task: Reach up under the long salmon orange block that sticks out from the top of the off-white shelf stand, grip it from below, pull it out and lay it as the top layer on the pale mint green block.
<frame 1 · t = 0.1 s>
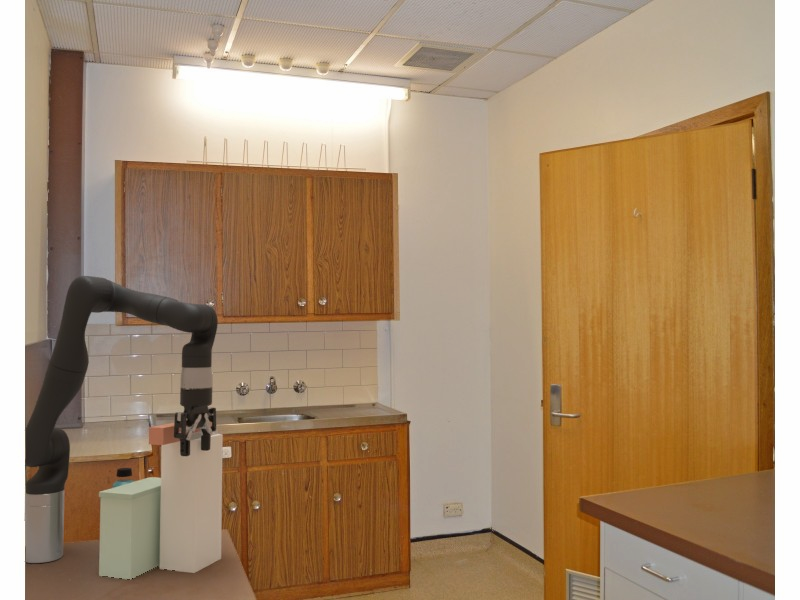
hand: (195, 453, 176), 29 cm above the countertop, tool pointing down, fingers open, 8 cm apart
long salmon orange block: (182, 438, 181), point 32 cm above the countertop, touching stand
beverage bottle: (123, 540, 206), on the countertop
stand: (190, 563, 184), on the countertop
pale mint green block: (140, 566, 182), on the countertop
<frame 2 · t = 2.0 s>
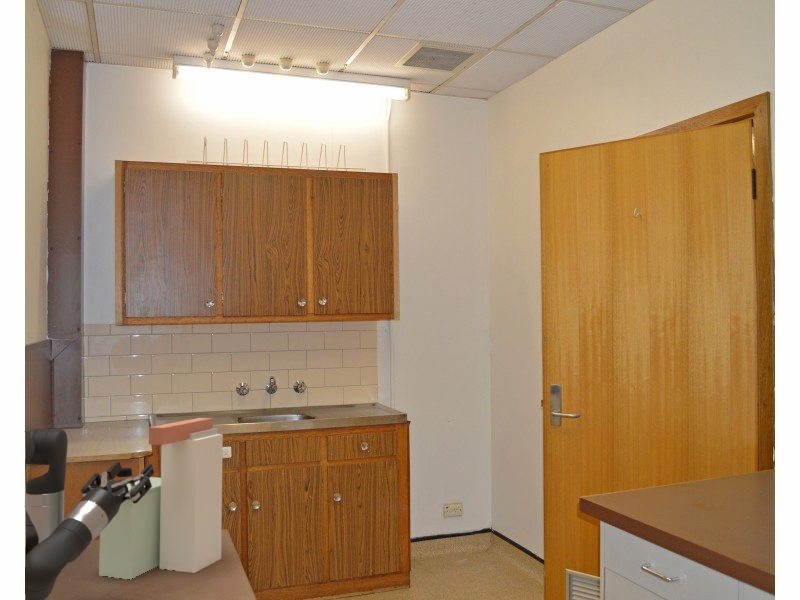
hand: (135, 466, 164), 28 cm above the countertop, tool pointing upward, fingers open, 8 cm apart
nothing on the countertop moved.
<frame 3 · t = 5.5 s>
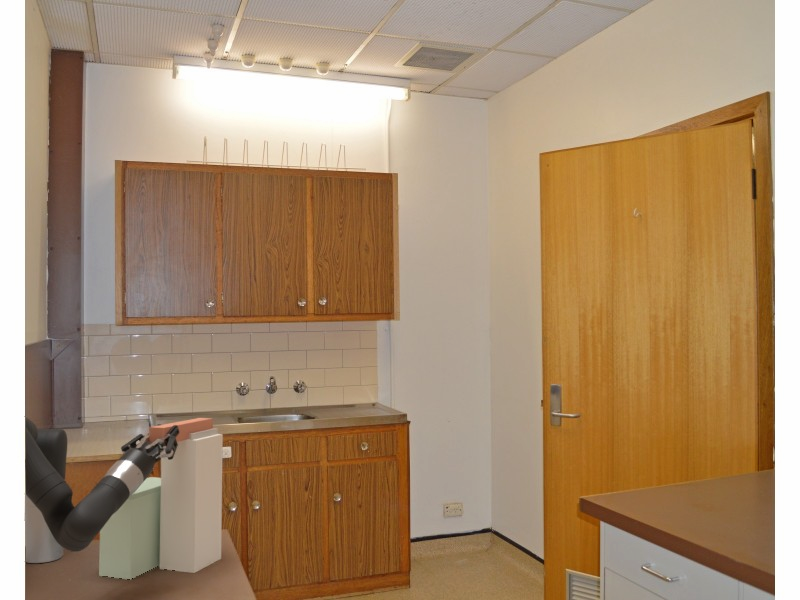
hand: (168, 427, 176), 35 cm above the countertop, tool pointing upward, fingers closed on long salmon orange block, 4 cm apart
long salmon orange block: (182, 438, 181), point 32 cm above the countertop, touching gripper, stand
everything else where it was.
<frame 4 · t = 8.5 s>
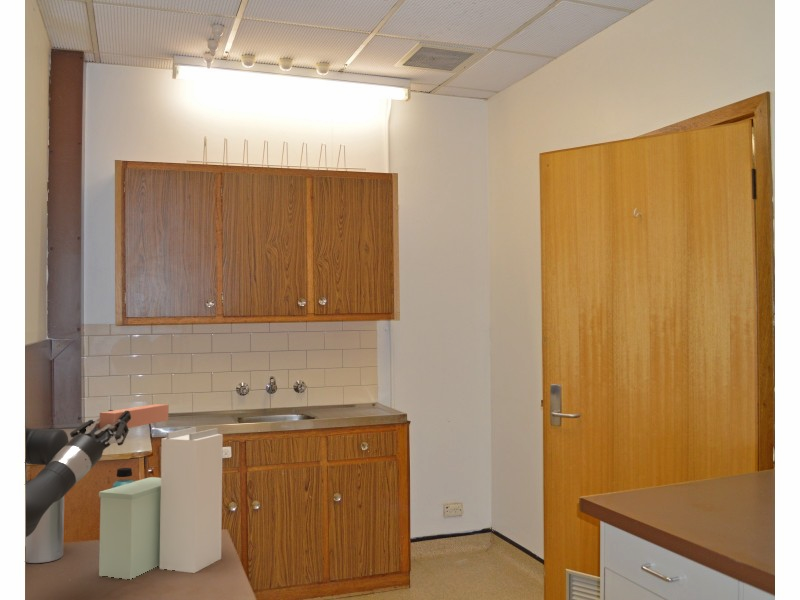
hand: (120, 413, 173), 39 cm above the countertop, tool pointing upward, fingers closed on long salmon orange block, 4 cm apart
long salmon orange block: (135, 424, 178), point 36 cm above the countertop, touching gripper
everything else where it was.
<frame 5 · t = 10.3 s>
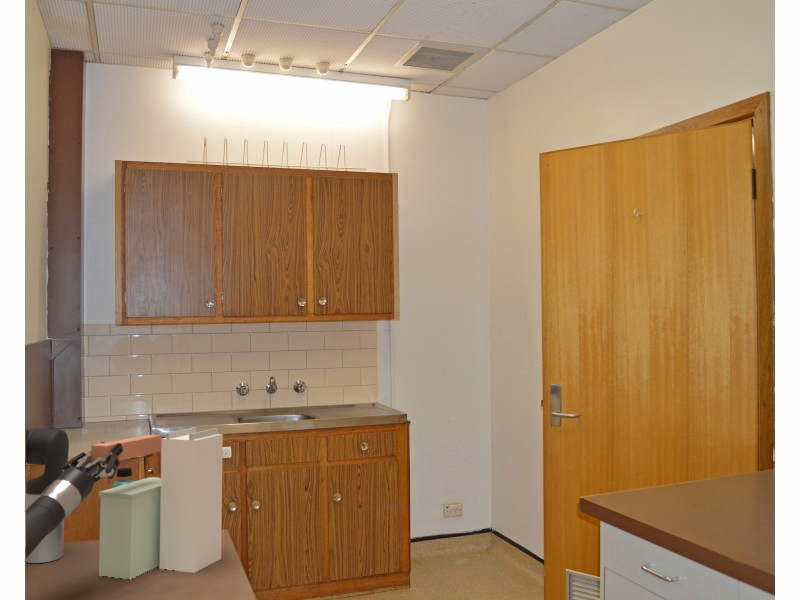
hand: (112, 445, 173), 31 cm above the countertop, tool pointing upward, fingers closed on long salmon orange block, 4 cm apart
long salmon orange block: (128, 456, 178), point 28 cm above the countertop, touching gripper
everything else where it was.
when the fingers open (25 cm above the countertop, at t = 11.8 s): long salmon orange block drops 2 cm, resting on pale mint green block.
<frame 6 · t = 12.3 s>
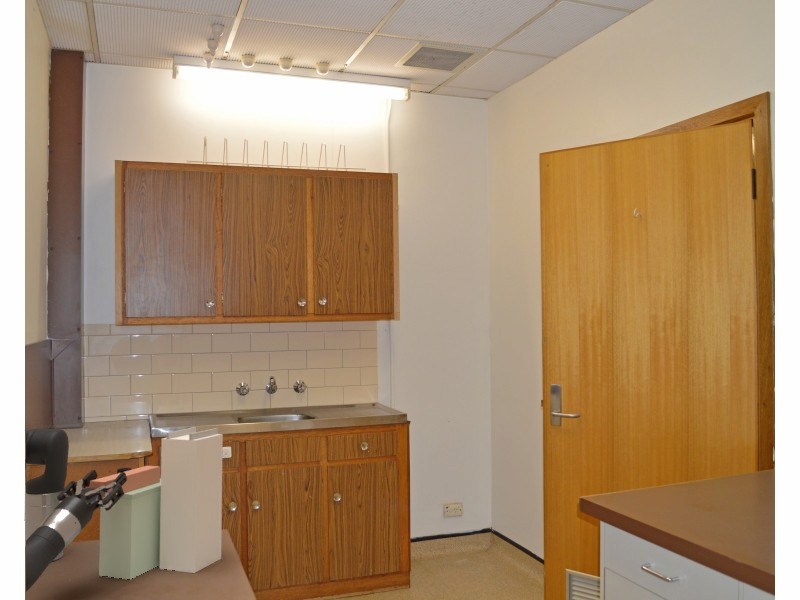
hand: (109, 473, 172), 25 cm above the countertop, tool pointing upward, fingers open, 8 cm apart
long salmon orange block: (126, 489, 178), point 20 cm above the countertop, touching pale mint green block
everything else where it was.
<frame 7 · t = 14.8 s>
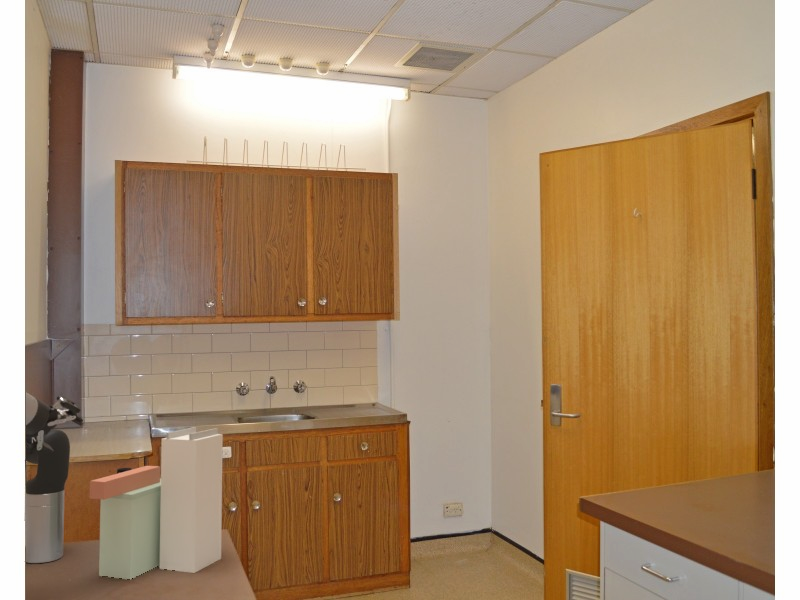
hand: (65, 436, 168), 35 cm above the countertop, tool tilted 65°, fingers open, 8 cm apart
nothing on the countertop moved.
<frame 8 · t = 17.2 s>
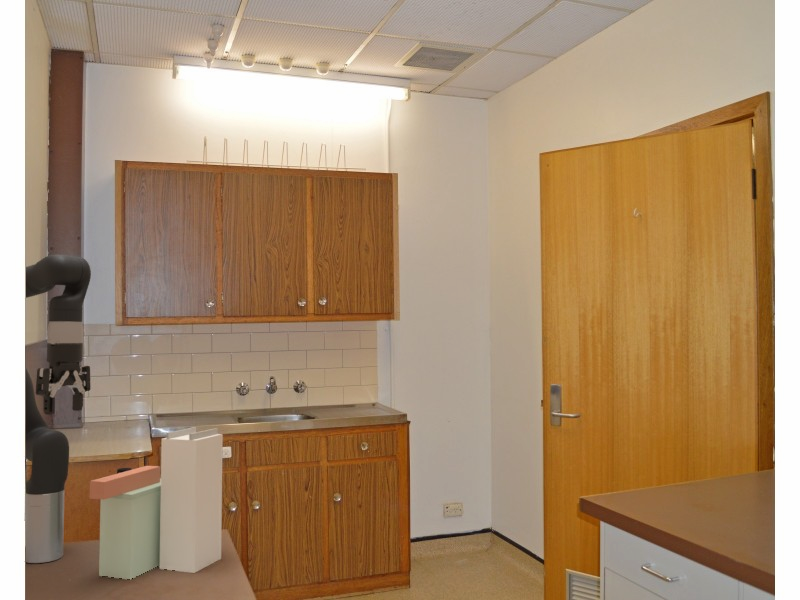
hand: (63, 412, 167), 40 cm above the countertop, tool pointing down, fingers open, 8 cm apart
nothing on the countertop moved.
at the end: long salmon orange block inside the target area on the pale mint green block (0.7 cm from its centre), point 20.0 cm above the pale mint green block's base; long salmon orange block touching pale mint green block; the gripper is holding nothing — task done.
